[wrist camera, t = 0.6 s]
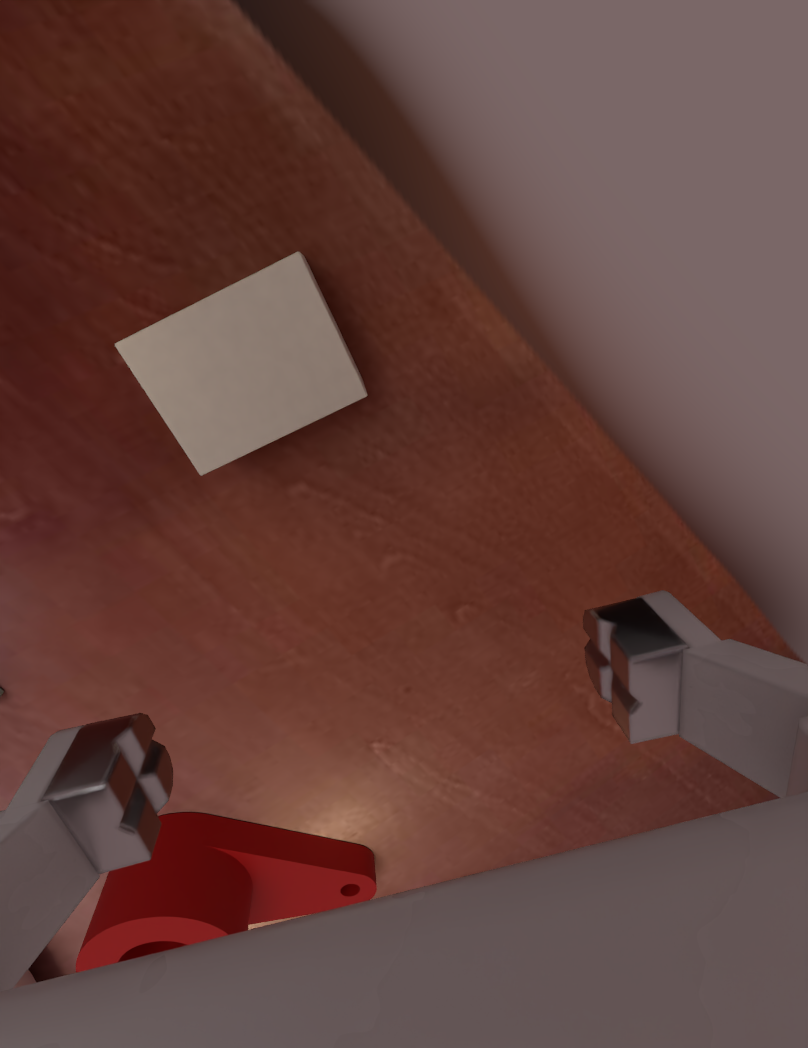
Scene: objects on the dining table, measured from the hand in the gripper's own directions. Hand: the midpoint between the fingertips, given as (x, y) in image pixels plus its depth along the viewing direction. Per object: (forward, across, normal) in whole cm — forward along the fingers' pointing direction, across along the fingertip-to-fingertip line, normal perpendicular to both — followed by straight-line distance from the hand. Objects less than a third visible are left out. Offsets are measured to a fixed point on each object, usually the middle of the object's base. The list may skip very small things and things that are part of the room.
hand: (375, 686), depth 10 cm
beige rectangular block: (+19, +3, -4) cm, 20 cm away
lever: (+19, +14, +29) cm, 38 cm away
